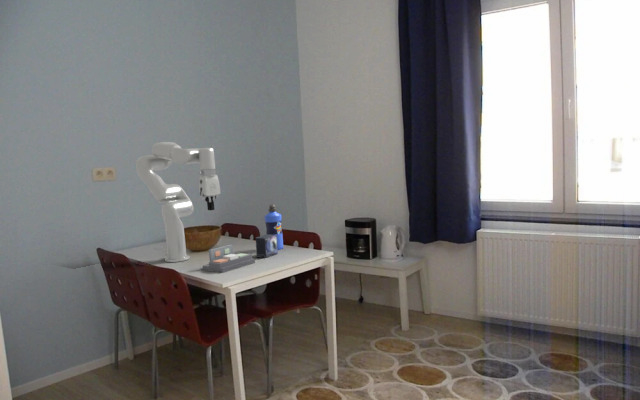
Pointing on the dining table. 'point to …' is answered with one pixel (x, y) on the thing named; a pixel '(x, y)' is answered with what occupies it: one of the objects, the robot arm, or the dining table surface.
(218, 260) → the terracotta key
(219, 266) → the keypad
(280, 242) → the water bottle
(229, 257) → the grey key
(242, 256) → the sage key
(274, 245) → the small box
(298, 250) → the dining table surface
